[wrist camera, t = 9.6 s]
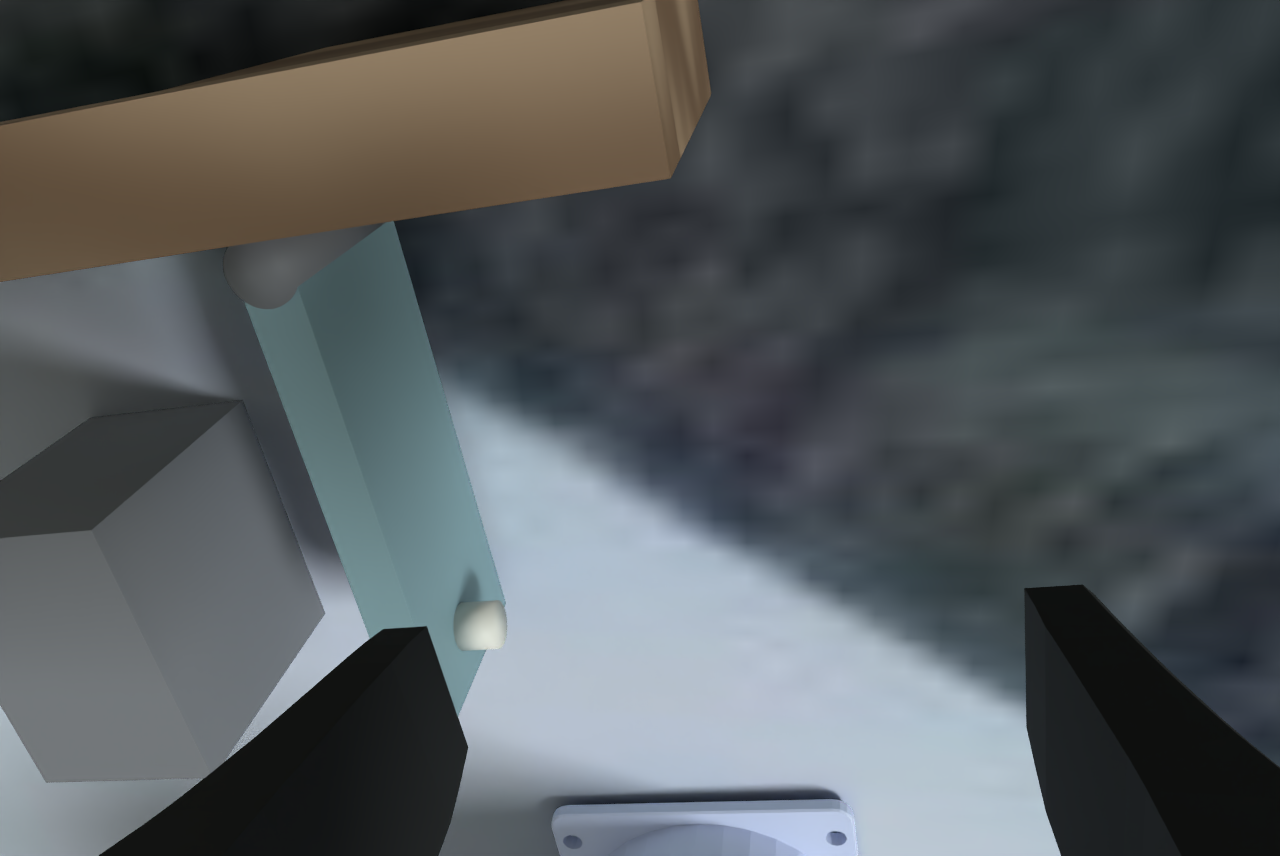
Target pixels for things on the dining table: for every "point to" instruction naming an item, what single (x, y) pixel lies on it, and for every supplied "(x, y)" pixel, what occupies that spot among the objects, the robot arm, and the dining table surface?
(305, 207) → the wooden plank
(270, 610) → the block
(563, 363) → the dining table surface
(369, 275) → the door
